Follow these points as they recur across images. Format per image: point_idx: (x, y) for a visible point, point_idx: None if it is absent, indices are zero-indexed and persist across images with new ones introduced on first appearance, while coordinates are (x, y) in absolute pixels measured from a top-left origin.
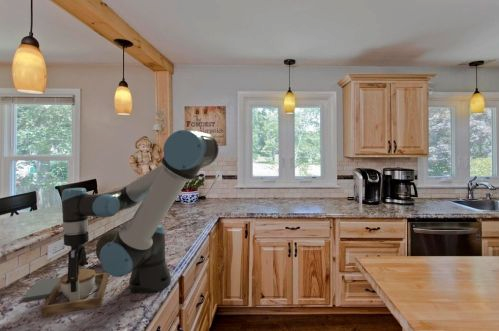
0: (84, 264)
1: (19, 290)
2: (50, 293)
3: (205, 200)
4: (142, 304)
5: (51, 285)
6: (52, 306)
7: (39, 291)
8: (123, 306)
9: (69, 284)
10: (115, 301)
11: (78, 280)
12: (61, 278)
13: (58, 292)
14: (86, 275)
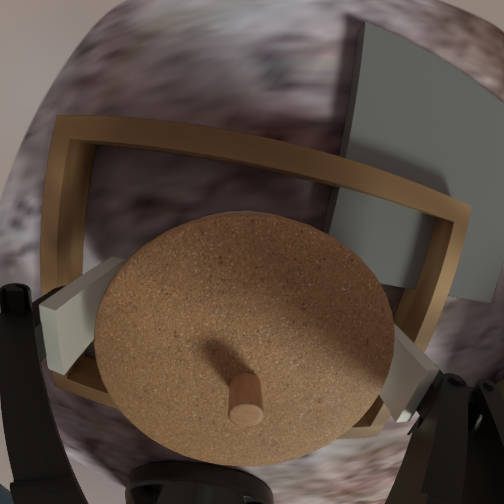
0: (417, 421)
1: (477, 50)
2: (349, 140)
3: None
4: (63, 444)
5: (457, 158)
6: (46, 172)
7: (412, 93)
8: (61, 412)
9: (51, 299)
10: (102, 409)
11: (56, 371)
12: (235, 230)
13: (334, 185)
14: (173, 429)
